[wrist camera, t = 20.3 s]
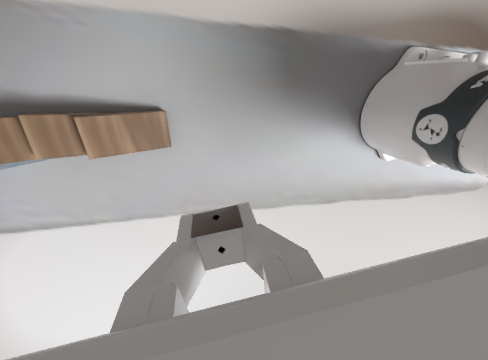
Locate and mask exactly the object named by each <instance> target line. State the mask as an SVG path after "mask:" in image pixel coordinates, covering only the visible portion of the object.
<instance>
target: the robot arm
mask: <svg viewBox="0 0 488 360" xmlns="http://www.w3.org/2000/svg"><path fill="white" fill-rule="evenodd" d="M361 133H362V136H363V138H364V140H365V141H366V143H367V144H368V145H369V146H371V147H373V148H374V149H376V150H377V151H378V153H379V156H380V157H381V159H383V160H386V161H391V160H394V159H396V158H398V159H401V160H404V161H407V162H410V163H414V164H417V165H420V166H424V167H428V166H430V165H434V164H440V165H443V166H444V167H446V168H449V169H452V170H455V171H456V170H457V171H461V172H464V173H478V174H480V175H483V176H486V177H488V52H474V53H472V54H465V53H459V52H452V51H445V50H439V49H432V48H426V47H411V48H409V49H408V50H407V51H406V52H405V54H404V55H403V56H402V58H401V59H400V61H399V62H398V64H397V65H396V66H395V67H394V68H393V69H392V70H391V71H390V72H389V73H388V74H386V75H385V76H384V77H383V78H382V79H381V80H380V81H379V82H378V83H377V84H376V86H375V87H374V88H373V90H372V91H371V93H370V94H369V96H368V98H367V100H366V102H365V105H364V107H363V111H362V115H361ZM240 262H246V263H247V264H248V265H249V266H250V267H251V268H252V269H253V270H254V271H255V272H256V273H257V274H258V275H259V276H260V277H261V278H262V279H263V280H264V284H265V294H262V295H258V296H254V297H250V298H246V299H242V300H238V301H234V302H230V303H227V304H222V305H219V306H215V307H211V308H207V309H203V310H199V311H195V312H192V313H189V312H188V309H187V306H188V304H189V302H190V300H191V298H192V296H193V295H194V292H195V291H196V289H197V287H198V285H199V283H200V281H201V279H202V277H203V276H204V274H205V271H206V270H210V269H214V268H218V267H222V266H226V265H230V264H235V263H240ZM6 360H488V237H487V238H482V239H479V240H474V241H470V242H466V243H463V244H459V245H455V246H451V247H447V248H443V249H439V250H435V251H431V252H427V253H423V254H420V255H415V256H411V257H407V258H403V259H400V260H396V261H392V262H388V263H384V264H380V265H376V266H372V267H368V268H364V269H360V270H357V271H352V272H348V273H344V274H341V275H337V276H333V277H329V278H325V279H324V278H323V276H322V274H321V273H320V271H319V269H318V268H317V266H316V264H315V263H314V261H313V259H312V258H311V256H310V254H309V253H308V251H307V250H305V249H304V248H302V247H300V246H298V245H297V244H295V243H293V242H291V241H290V240H288V239H286V238H284V237H283V236H281V235H279V234H277V233H276V232H274V231H272V230H270V229H269V228H267V227H265V226H263V225H261V224H257V223H256V220H255V218H254V215H253V213H252V210H251V207H250V204H249V203H248V202H246V203H242V204H237V205H234V206H229V207H225V208H220V209H214V210H208V211H203V212H197V213H192V214H187V215H182V216H181V218H180V224H179V229H178V236H177V241H176V242H173V243H172V244H171V245H170V246H169V247H168V248H167V249H166V250H165V251H164V252H163V253H162V254H161V256H160V257H159V258H158V259H157V260H156V261H155V262H154V263H153V264H152V265H151V266H150V267H149V268H148V269H147V270H146V271H145V272H144V273H143V274H142V275H141V276H140V278H139V279H138V280H137V281H136V282H135V283H134V284H133V285H132V286H131V287H130V288H129V289H128V290H127V291H126V292H125V294H124V296H123V299H122V302H121V304H120V307H119V310H118V312H117V315H116V318H115V320H114V323H113V326H112V328H111V331H110V333H109V334H105V335H101V336H97V337H93V338H89V339H85V340H81V341H77V342H73V343H69V344H65V345H61V346H58V347H54V348H49V349H46V350H42V351H38V352H34V353H30V354H26V355H22V356H18V357H14V358H10V359H6Z"/></svg>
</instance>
